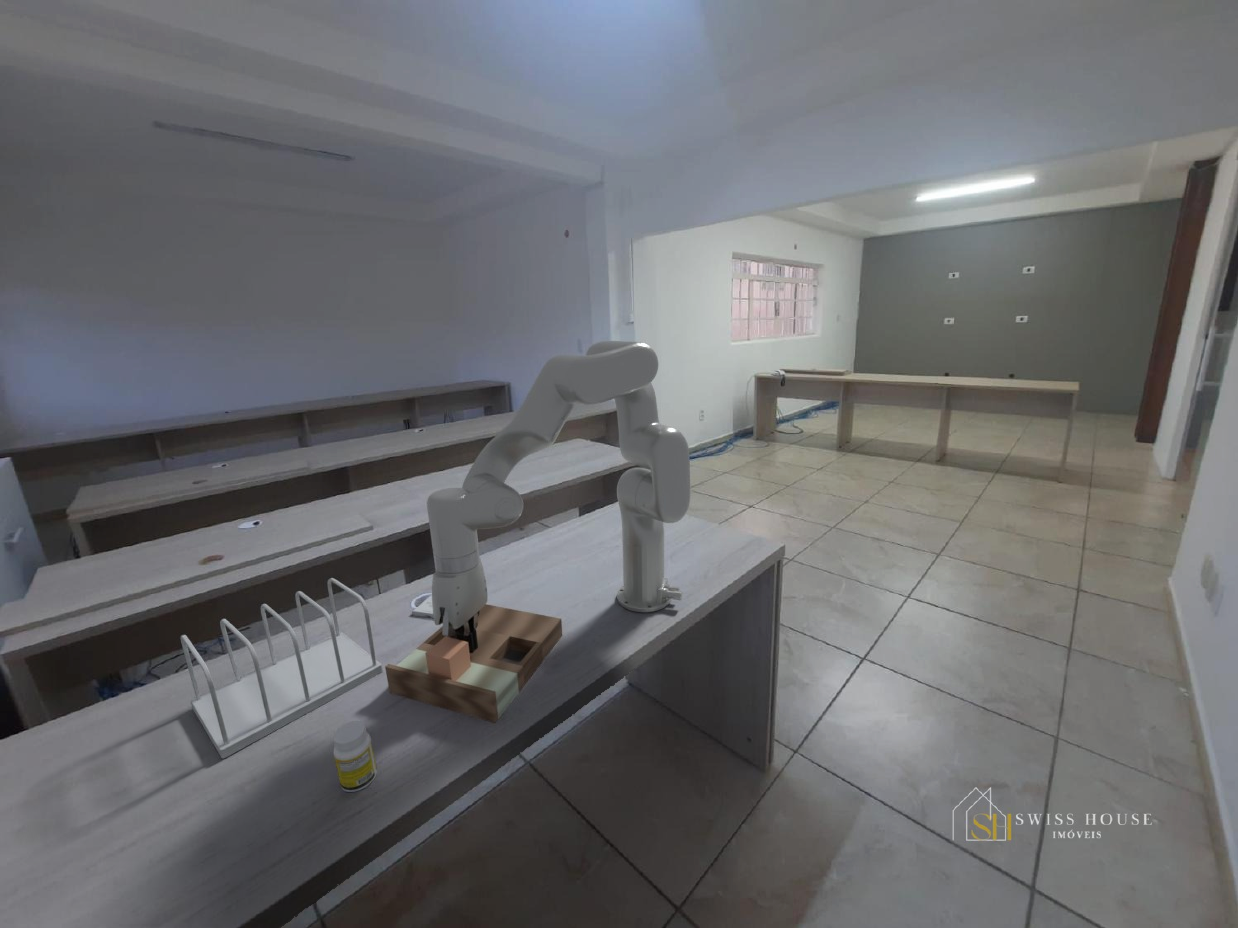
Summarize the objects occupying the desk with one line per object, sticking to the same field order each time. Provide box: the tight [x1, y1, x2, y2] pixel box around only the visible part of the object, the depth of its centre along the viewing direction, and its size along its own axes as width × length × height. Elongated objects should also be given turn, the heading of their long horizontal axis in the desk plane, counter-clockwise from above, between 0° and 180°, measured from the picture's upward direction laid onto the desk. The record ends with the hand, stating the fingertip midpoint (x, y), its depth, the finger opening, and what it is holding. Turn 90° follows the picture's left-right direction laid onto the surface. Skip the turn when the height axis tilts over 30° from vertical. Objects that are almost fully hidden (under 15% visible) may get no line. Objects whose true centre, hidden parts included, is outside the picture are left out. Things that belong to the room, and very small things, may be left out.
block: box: [426, 636, 471, 681], centre depth 87 cm, size 5×5×5 cm
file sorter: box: [180, 577, 383, 759], centre depth 88 cm, size 25×17×16 cm
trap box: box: [384, 603, 563, 724], centre depth 95 cm, size 22×25×6 cm
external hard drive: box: [411, 594, 434, 619], centre depth 117 cm, size 2×8×12 cm
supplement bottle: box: [332, 720, 378, 793], centre depth 70 cm, size 5×5×8 cm
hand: (468, 649), depth 91 cm, fingers closed
